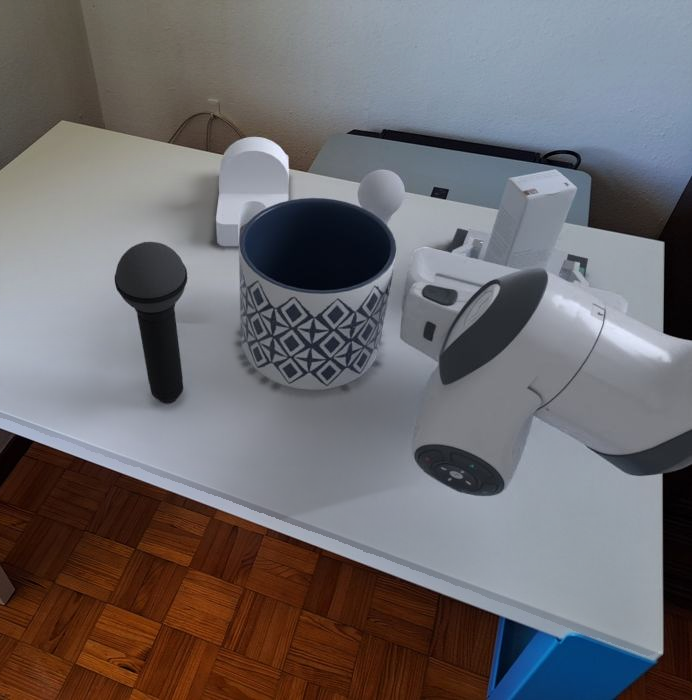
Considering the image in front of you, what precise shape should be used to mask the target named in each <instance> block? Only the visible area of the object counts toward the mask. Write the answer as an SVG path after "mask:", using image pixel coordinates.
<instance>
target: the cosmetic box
mask: <svg viewBox="0 0 692 700" xmlns="http://www.w3.org/2000/svg"><path fill="white" fill-rule="evenodd" d="M577 192H578V186H576V185H575V184H574V183H573V182H571V180H569V179H568V178H567V177H566V176H564V175H563V174H562V173H561V172H560V171H559V170H557V169H549V170H545V171H544V170H543V171H540V172H539V171H538V172H534V173H529V174H523V175H518V176H513V177H509V178H507V181H506V184H505V187H504V191H503V193H502V197H501V201H500V204H499V208H498V210H497V214H496V217H495V220H494V224H493V226H492V230H491V233H490V234H491V237H490V240H489V243H488V247H487V250H486V253H485V257H484V260H483V261H486V262H490V263H494V264H498V265H502V266H506V267H511V268H515V269H519V270H527V269H536V268H542V269H544V270H546V268H547V265H548V263H549V260H550V258H551V255H552V253H553V250H554V248H555V249H556V244H557V242H558V239H559V237H560V235H561V232H562V230H563V227H564V224H565V222H566V219H567V217H568V214H569V212H570V209H571V206H572V204H573V201H574V199H575V196H576V194H577Z"/></svg>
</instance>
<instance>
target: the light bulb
mask: <svg viewBox="0 0 692 700" xmlns="http://www.w3.org/2000/svg"><path fill="white" fill-rule="evenodd" d="M405 195H406V190H405V185H404V182H403V180H402V178H401V177H400V176H399V175H398V174H397V173H395V172H393V171H391V170H388V169H376V170H373V171H371V172H369V173H368V174H366V175H365V176H364V177H363V179H362V180H361V182H360V183H359V185H358V188H357V201H358V204H359V205H360V206H359V207H361V208H364V209H366V210H368V211H369V212H371V213H373V214H375V215H376V216H377V217H378V218H380V219H381V220H382V221H383V222H384V223H385V224H386V225H387V226H388V223H389V222H390V220H391V218H392V216H393V215H394V214H395V213H396V212H397V211H398V210H399V209H400V207H402V204H403V203H404V199H405Z"/></svg>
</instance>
